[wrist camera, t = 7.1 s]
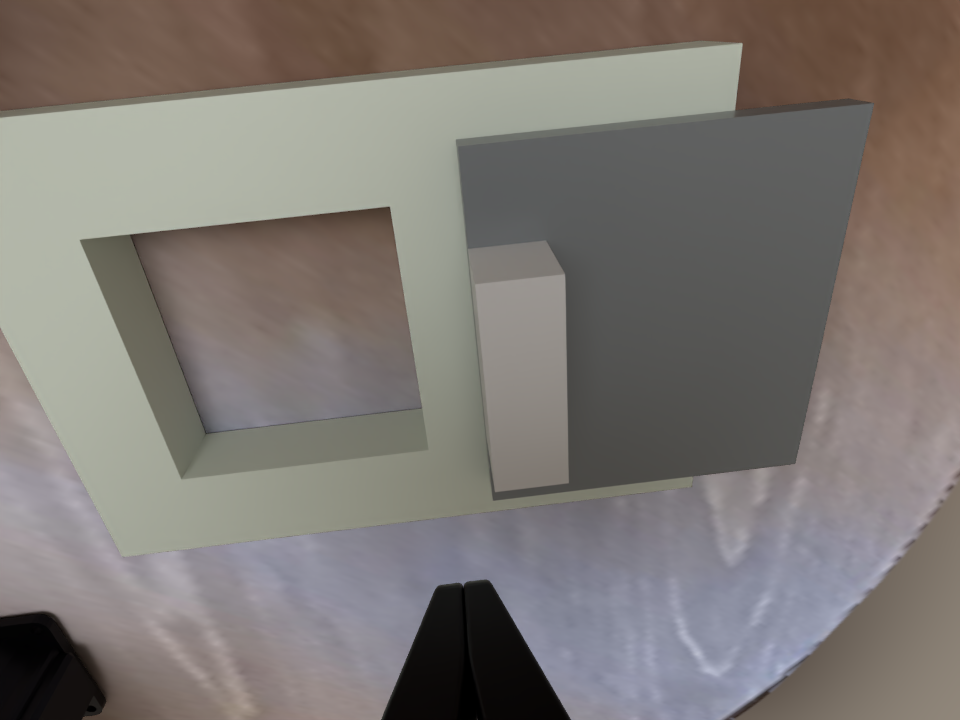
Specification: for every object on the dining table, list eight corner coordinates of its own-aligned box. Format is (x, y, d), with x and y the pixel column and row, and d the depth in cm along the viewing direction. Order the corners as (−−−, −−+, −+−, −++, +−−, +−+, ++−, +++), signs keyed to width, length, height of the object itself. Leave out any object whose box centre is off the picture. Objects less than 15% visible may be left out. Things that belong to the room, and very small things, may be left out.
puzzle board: (150, 506, 23) (122, 557, 21) (-35, 114, 16) (-106, 128, 14) (667, 444, 24) (691, 487, 21) (700, 40, 17) (742, 43, 15)
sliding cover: (490, 480, 20) (501, 558, 17) (455, 139, 15) (463, 167, 12) (779, 445, 21) (839, 515, 18) (848, 98, 15) (951, 115, 12)
